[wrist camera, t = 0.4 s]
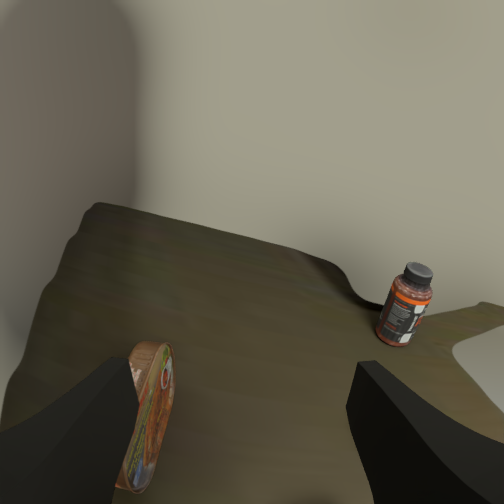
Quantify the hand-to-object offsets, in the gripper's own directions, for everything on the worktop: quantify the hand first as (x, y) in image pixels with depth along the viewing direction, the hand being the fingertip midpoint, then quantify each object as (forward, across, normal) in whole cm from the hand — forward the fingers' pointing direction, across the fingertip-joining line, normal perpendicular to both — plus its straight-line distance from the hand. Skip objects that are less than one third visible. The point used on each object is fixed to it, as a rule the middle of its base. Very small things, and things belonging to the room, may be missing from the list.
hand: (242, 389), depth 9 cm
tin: (+12, +9, +18) cm, 23 cm away
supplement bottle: (+29, -22, +18) cm, 40 cm away
